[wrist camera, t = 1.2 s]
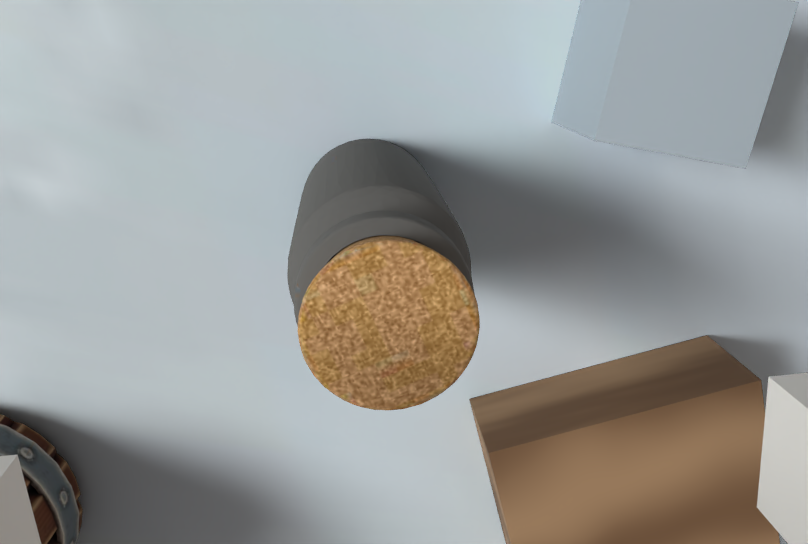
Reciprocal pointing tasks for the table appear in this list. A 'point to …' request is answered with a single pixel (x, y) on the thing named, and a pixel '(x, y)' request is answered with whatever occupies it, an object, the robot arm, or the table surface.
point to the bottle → (380, 279)
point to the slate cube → (674, 74)
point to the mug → (44, 482)
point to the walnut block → (630, 451)
